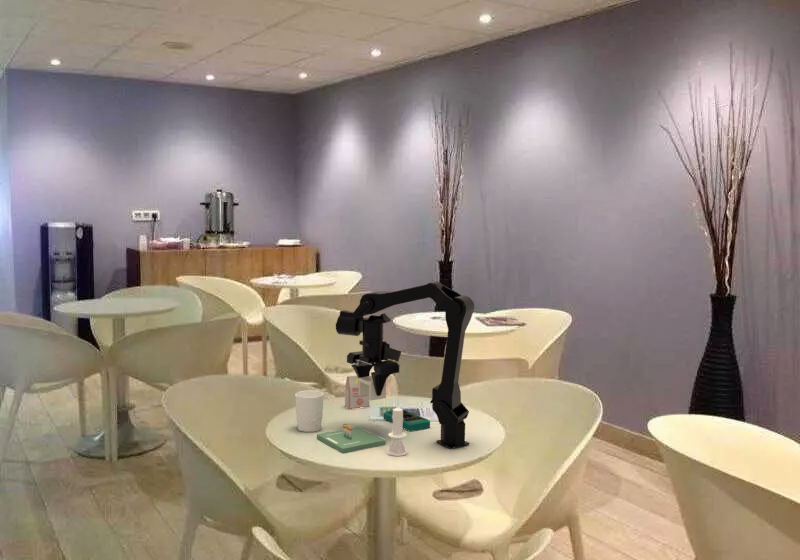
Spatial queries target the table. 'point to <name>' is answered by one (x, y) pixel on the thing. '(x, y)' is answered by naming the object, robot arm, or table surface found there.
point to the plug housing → (369, 388)
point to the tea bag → (354, 394)
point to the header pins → (347, 432)
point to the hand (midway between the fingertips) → (372, 392)
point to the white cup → (309, 410)
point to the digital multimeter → (409, 420)
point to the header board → (358, 441)
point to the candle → (397, 434)
